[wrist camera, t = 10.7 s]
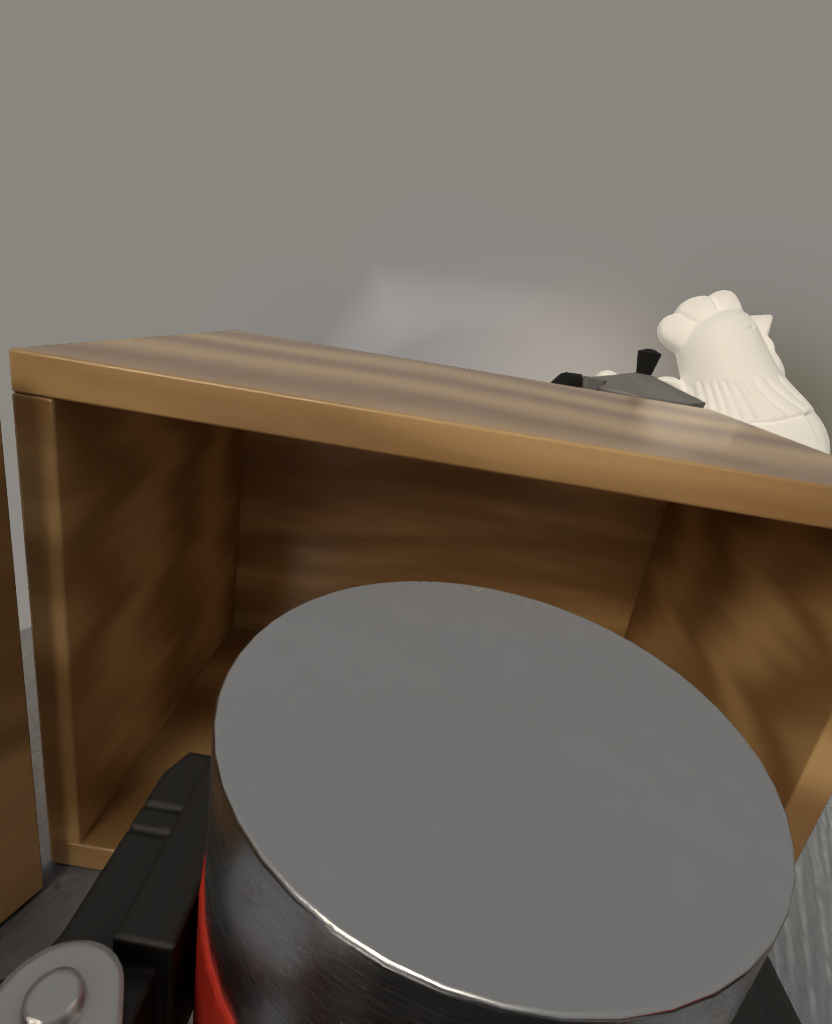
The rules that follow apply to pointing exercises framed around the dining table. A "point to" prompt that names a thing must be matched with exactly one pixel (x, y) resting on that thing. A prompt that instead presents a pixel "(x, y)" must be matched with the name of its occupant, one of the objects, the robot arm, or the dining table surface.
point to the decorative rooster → (736, 368)
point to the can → (478, 824)
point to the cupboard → (389, 539)
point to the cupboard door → (14, 742)
